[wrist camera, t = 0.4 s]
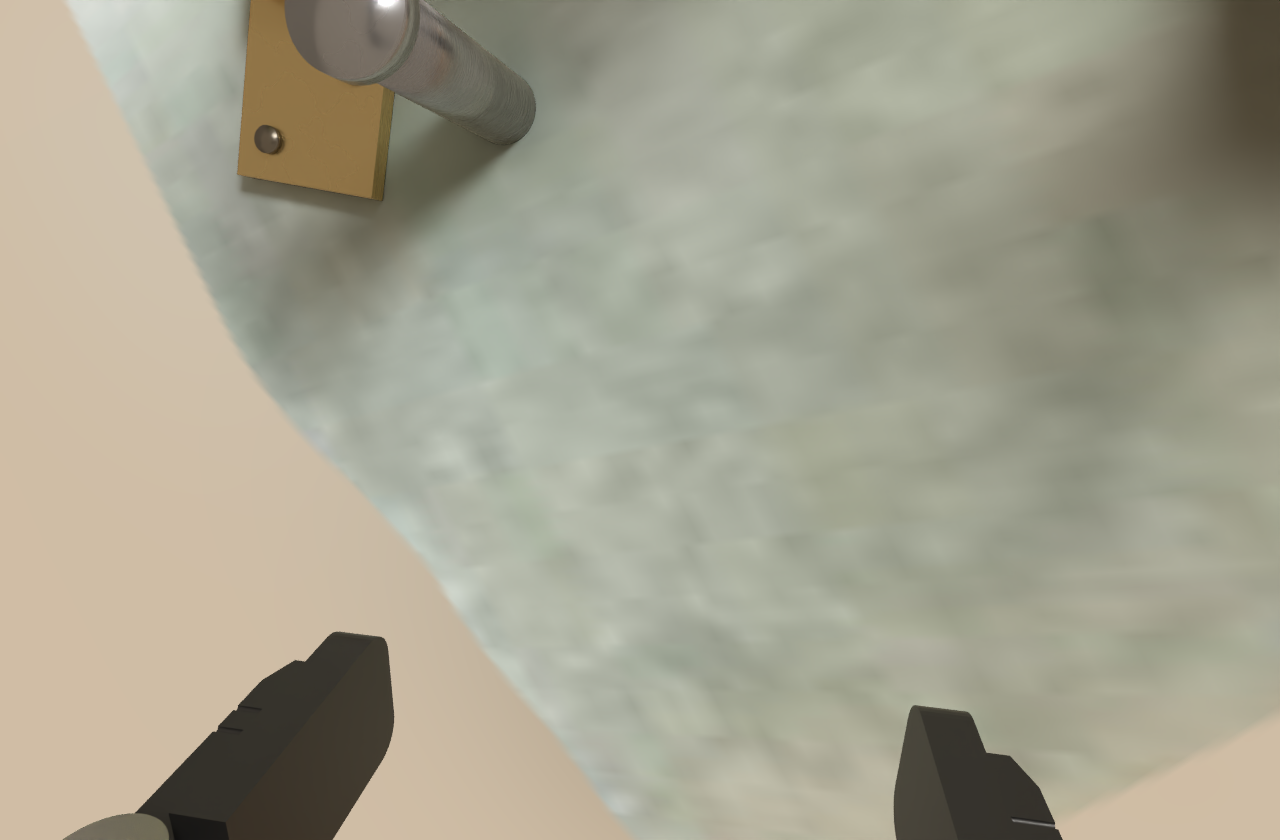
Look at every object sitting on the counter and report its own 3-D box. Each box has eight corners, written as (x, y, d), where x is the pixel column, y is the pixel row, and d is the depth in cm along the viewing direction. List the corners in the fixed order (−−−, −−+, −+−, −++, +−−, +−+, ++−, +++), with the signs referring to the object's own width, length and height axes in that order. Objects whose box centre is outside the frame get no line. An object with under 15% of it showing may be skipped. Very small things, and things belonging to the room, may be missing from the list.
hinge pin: (468, 56, 37) (291, -74, 24) (552, 67, 36) (412, -62, 23) (456, 148, 38) (278, 68, 25) (537, 161, 37) (395, 85, 24)
